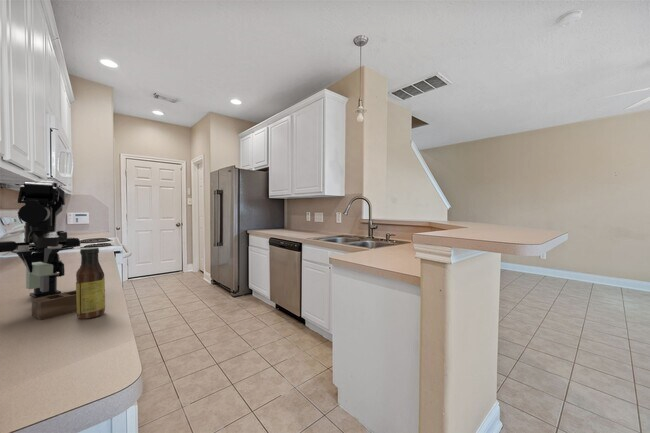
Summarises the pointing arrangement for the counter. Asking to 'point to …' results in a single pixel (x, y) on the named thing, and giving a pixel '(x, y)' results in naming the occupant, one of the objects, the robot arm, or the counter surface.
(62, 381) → the counter surface
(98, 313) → the sauce bottle
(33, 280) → the green block
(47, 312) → the brown cubby organizer
